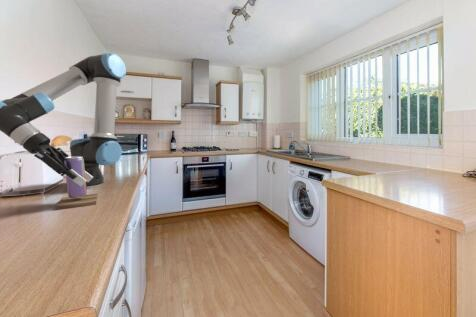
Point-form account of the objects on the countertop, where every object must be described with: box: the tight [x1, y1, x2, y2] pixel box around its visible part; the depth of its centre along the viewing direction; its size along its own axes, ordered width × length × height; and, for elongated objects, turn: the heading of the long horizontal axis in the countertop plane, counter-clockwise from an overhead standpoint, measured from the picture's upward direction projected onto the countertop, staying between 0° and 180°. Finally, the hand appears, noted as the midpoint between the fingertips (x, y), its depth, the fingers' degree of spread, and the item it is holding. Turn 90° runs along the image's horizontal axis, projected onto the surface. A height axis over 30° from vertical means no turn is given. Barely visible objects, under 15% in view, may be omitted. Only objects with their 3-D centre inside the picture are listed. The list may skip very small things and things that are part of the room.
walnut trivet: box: [55, 193, 99, 211], centre depth 88 cm, size 12×12×1 cm
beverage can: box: [64, 156, 88, 198], centre depth 87 cm, size 6×6×15 cm
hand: (87, 181), depth 88 cm, fingers closed on beverage can, 6 cm apart
